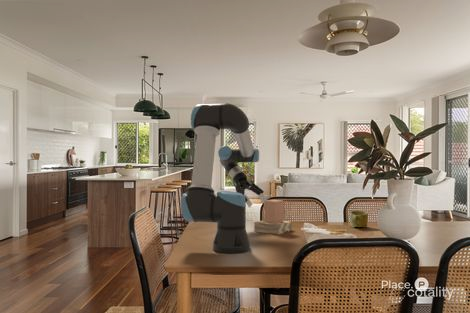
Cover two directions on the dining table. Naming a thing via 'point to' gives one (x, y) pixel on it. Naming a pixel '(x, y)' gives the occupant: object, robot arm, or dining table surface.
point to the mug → (358, 219)
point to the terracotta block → (273, 211)
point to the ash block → (272, 227)
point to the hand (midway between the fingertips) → (259, 204)
